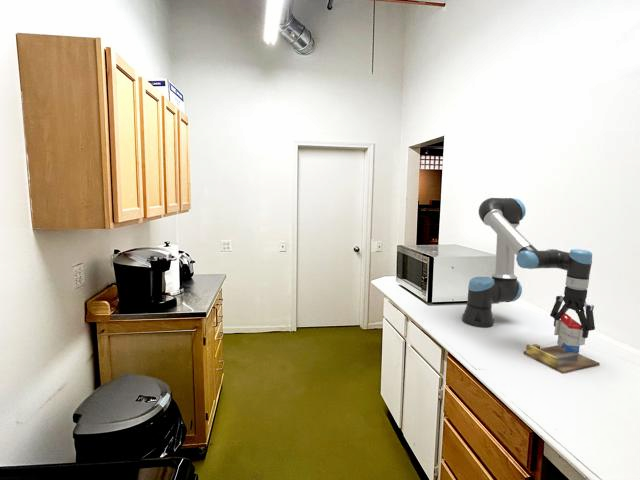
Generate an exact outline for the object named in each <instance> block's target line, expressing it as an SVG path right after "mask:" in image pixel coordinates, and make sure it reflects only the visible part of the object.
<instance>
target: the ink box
mask: <svg viewBox="0 0 640 480" xmlns="http://www.w3.org/2000/svg"><path fill="white" fill-rule="evenodd" d="M560 320H561V321H560V328H559V335H557V341H556V343H557V345H560V346H561V347H562V348H563V349H564V350H565V351H566V352H573V353H578V354H580V347H581V345H578V342H579V335H580V329H583V328H582V326H581V323H579V322H577V320H575V319H574V318H572V317H571V316H569V315H568V314H567V312H566V313H563V314H562V316H561V319H560Z"/></svg>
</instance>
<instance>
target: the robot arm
mask: <svg viewBox="0 0 640 480" xmlns="http://www.w3.org/2000/svg"><path fill="white" fill-rule="evenodd" d="M526 211H527V210H526V206H525V204H524V203H523V201H522V200H520V199H519V198H514V197H513V198H512V197H489V198H486V199H485V200H484V201H482V202H481V203H480V205H479V206H478V216H479V219H480V220H481V221H482V222H483V224H484V225H486V226H488V227H490V228H491V229H492V230H493V231H494V233H495V234H496V245H495V246H496V250H495V251H496V252H495V272H494V273H493V274H492V276H491V277H489V276H475V277H472V278H471V279H470V280H469V283H468V286H467V287H468V289H467V290H468V291H467V299H466V300H467V302H466V307H465V309H464V312H463V313H462V317H461V320H462V322H464V323H465V324H466V325H469V326H474V327H477V328H479V327H480V328H490V327H493V326H494V323H495V319H494V317H493V312H492V306H493V305H492V304H493V303H511V302H515V301H518V300H519V299H520V297H522V292H523V286H522V284H521V282H520V281H519V280H518V276H516V275H515V262H516V263H517V265H518V267H519V268H521V269H529V270H533V269H558V270H559V269H560V270H564V271H566V277H565V287H564V291H563V292H564V293H563V294H564V296H562V295H557V296H556V297H555V302H554V304H553V308H552V309H551V312H550V315H549V316H550V317H551V318H553V320H554V321H553V326H554V332H553V333H554V334H553V335H554V336H558V335H559V328H560V321H561V316H562V314H563V313H566V314H567V312H568V311H569V310H572V311H574V312H575V314H577V317H578V319H579V322H580V323H579V324H580V325H581V326H582V329H580V335H579V342H578V345H580V346H584V345H585V344H586V339H588V337H589V331H590V332H591V331H595V330H596V326H595V319H594V308H595V306H594V304H588V303H587V302H586V300H587V297H588V296H587V295H588V288H589V283H590V276H591V275H590V274H591V268H592V264H593V253H592V252H591V251H590V250H586V249H580V248H575V249H570V250H569V252H568V251H564V250H563V251H562V250H560V249H556V248H555V249H553V248H552V249H551V248H549V249H546V250H538V249H537V248H536V247H535V246H533V244H532V243H531V242H529V240H528V239H527V238H526V237H525V236H524V235H523V234H522V233H520V231H519V230H518V229H517V227H518V226H519V225H520V221H522V220H523V219H524V218H525V216H526ZM515 255H516V256H515ZM515 259H516V260H515ZM563 303H564V304H563Z"/></svg>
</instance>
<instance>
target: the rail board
mask: <svg viewBox="0 0 640 480" xmlns="http://www.w3.org/2000/svg"><path fill="white" fill-rule="evenodd" d="M523 355H525V356H528V357H530V358H532V359H533V360H535V361H537V362H539V363H542V364H543V365H545V366H547V367H549V368H551V369H553V370H555V371H557V372H559V373H561V374H567V373H571V372H575V371H581V370H584V369H588V368H589V369H590V368H593V367H598V366H600V365H601V362H598V361H596V360H594V359H592V358H589V357H587V356H585V355H583V354H580V353H573V352H566V351H565V350H564V349H563V348H562V347H561V346H560V345H558V344H557V345H552V346H546V347H541V345H540V344H537V343H533V344H527V343H526V347H525V350H523Z"/></svg>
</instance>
